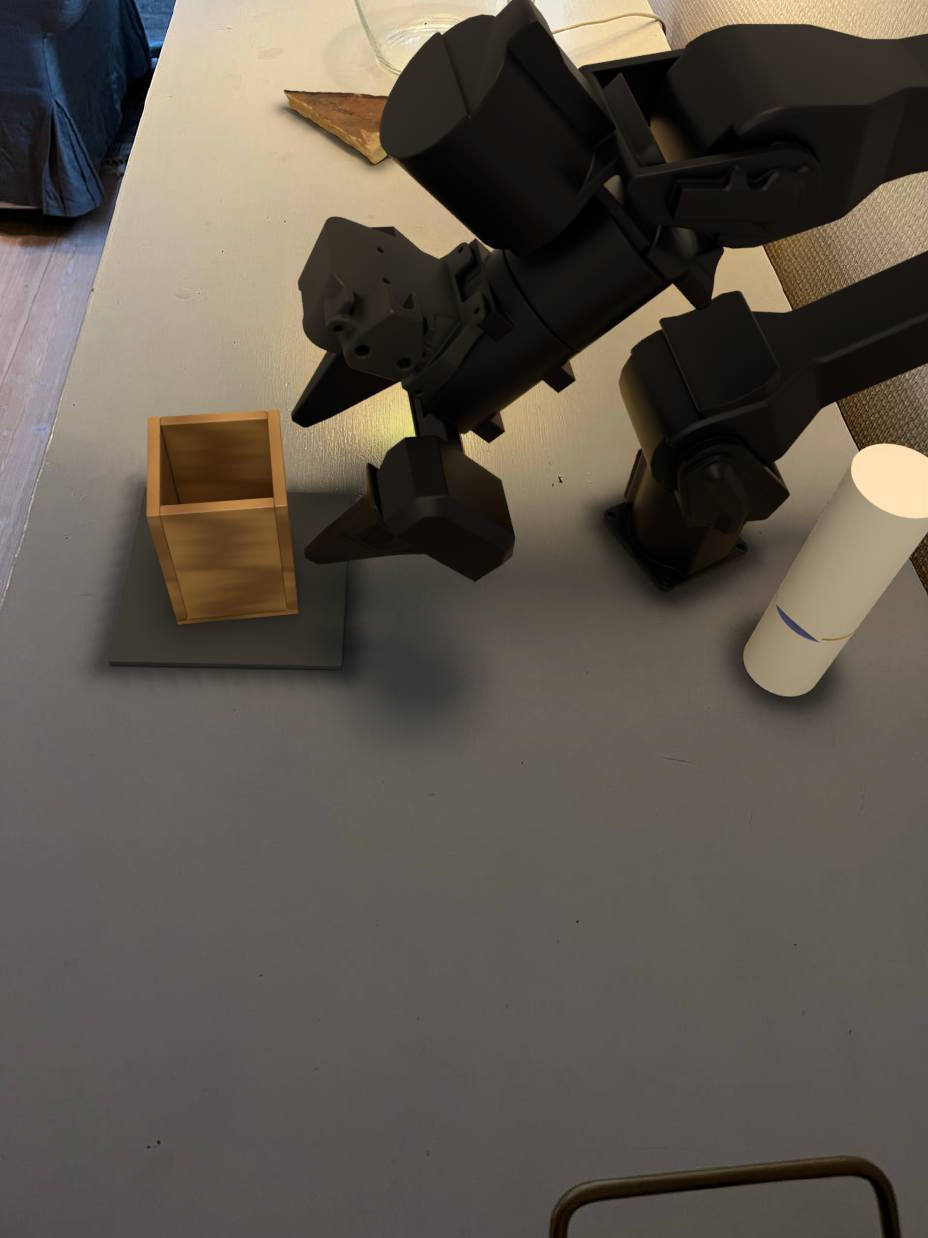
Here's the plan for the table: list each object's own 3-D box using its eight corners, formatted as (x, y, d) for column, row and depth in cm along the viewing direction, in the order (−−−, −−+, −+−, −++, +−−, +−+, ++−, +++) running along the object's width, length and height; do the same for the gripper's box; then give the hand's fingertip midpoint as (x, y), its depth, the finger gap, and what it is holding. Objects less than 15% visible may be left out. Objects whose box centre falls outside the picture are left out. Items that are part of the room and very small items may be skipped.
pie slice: (284, 107, 82) (282, 85, 81) (354, 79, 86) (354, 58, 84) (369, 167, 78) (369, 145, 77) (439, 135, 82) (440, 114, 80)
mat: (341, 669, 52) (341, 666, 52) (110, 665, 51) (108, 661, 51) (351, 498, 59) (350, 493, 59) (146, 491, 58) (144, 486, 58)
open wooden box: (290, 523, 57) (278, 409, 50) (298, 614, 54) (287, 505, 46) (177, 532, 56) (147, 416, 49) (177, 625, 53) (146, 516, 45)
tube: (815, 635, 56) (941, 450, 44) (823, 701, 54) (959, 524, 41) (740, 626, 56) (845, 438, 44) (745, 691, 54) (857, 511, 41)
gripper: (387, 50, 42) (168, 280, 50) (457, 343, 32) (167, 577, 39) (542, 210, 50) (331, 388, 57) (638, 488, 40) (366, 660, 47)
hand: (303, 486), depth 50 cm, fingers open, 9 cm apart
